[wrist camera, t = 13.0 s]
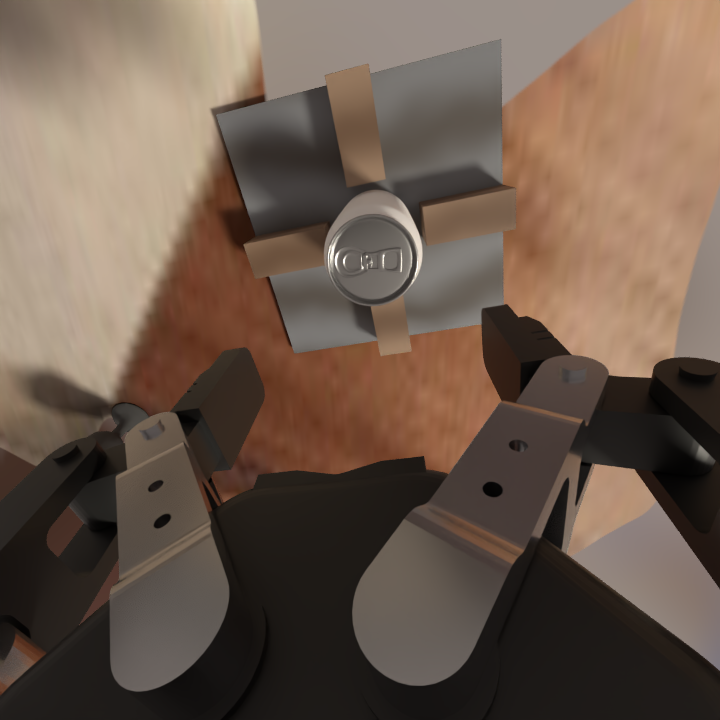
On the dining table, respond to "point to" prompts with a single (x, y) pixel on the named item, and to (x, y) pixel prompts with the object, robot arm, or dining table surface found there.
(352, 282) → the can
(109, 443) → the sundae
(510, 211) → the crossing block
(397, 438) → the dining table surface
